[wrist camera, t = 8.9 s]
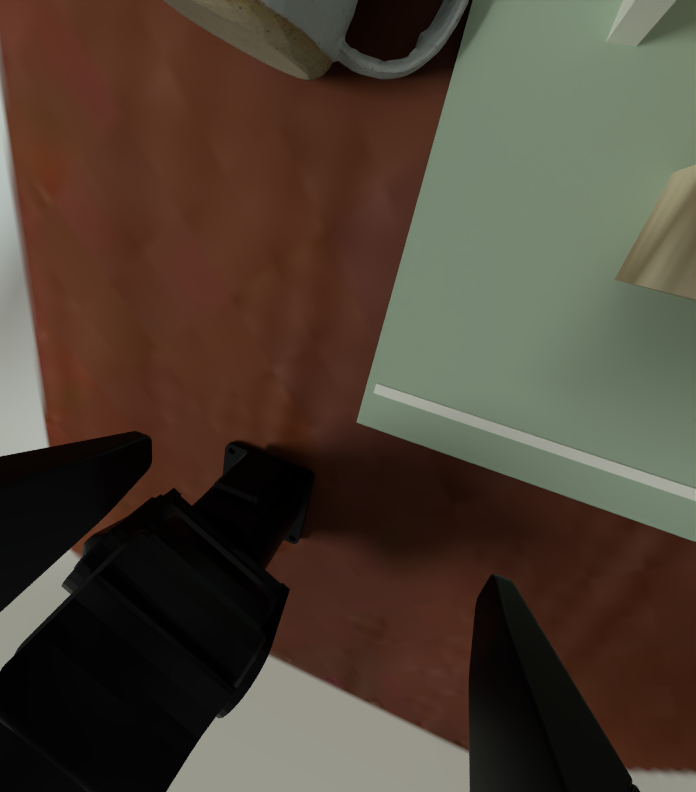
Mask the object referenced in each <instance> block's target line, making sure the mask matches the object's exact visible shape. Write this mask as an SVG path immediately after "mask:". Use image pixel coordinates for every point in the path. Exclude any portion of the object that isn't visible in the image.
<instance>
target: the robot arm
mask: <svg viewBox="0 0 696 792" xmlns="http://www.w3.org/2000/svg"><path fill="white" fill-rule="evenodd" d="M232 448H233V449H234V450H235V451H234V450H233V449H232ZM151 463H152V440H151V438H150V437H149V436H148V435H146V434H143V433H140V432H137V431H132V432H127V433H122V434H117V435H111V436H106V437H101V438H96V439H90V440H85V441H80V442H74V443H69V444H64V445H59V446H53V447H48V448H43V449H38V450H32V451H27V452H22V453H17V454H11V455H7V456H1V457H0V612H1V611H2V610H3V609H4V608H5V607H6V606H8V605H9V604H10V603H11V602H12V601H13V600H14V599H15V598H16V597H17V596H19V595H20V594H21V593H22V592H23V591H24V590H25V589H26V588H27V587H28V586H30V585H31V584H32V583H33V582H34V581H35V580H36V579H37V578H38V577H39V576H41V575H42V574H43V573H44V572H45V571H46V570H47V569H48V568H49V567H50V566H51V565H53V564H54V563H55V562H56V561H57V560H58V559H59V558H60V557H61V556H62V555H63V554H65V553H66V552H67V551H68V550H69V549H70V548H71V547H72V546H73V545H75V544H76V543H77V542H78V541H79V540H80V539H81V538H82V537H83V536H84V535H85V534H87V533H88V532H89V531H90V530H91V529H92V528H93V527H94V526H95V525H96V524H98V523H99V522H100V521H101V520H102V519H103V518H104V517H105V516H106V515H107V514H108V513H109V512H110V511H111V510H112V509H113V508H114V507H115V506H116V504H117V503H118V502H119V501H120V500H121V499H122V498H123V497H124V496H125V495H126V494H127V492H128V491H129V490H130V489H131V488H132V487H133V486H134V485H135V484H136V483H137V482H138V480H139V479H140V478H141V477H142V476H143V475H144V474H145V473H146V472H147V470H148V469H149V468H150V466H151ZM304 476H306V477H308V479H306V478H305V477H304ZM313 483H314V474H313V473H312V472H311V471H309V470H307V469H304V468H302V467H299V466H297V465H294V464H291V463H289V462H286V461H284V460H281V459H278V458H276V457H273V456H270V455H268V454H265V453H263V452H260V451H257V450H255V449H252V448H250V447H247V446H244V445H242V444H239V443H237V442H230V443H229V444H228V445H227V446H226V448H225V457H224V468H223V475H222V476H221V477H220V478H219V479H218V480H217V481H216V482H215V484H214V485H213V486H212V487H211V488H210V489H209V490H208V491H207V492H206V493H205V494H204V495H203V496H202V497H201V498H200V499H199V500H198V501H197V502H196V503H195V504H194V505H192V506H191V505H190V504H189V503H188V502H187V501H186V500H185V499H183V498H182V497H181V494H180V493H179V492H178V491H177V490H176V489H175V488H173V489H172V490H171V491H169V492H168V493H166V494H165V495H164V496H163V495H162V494H161V495H159V496H158V497H156V498H153V497H151V498H150V499H149V500H148V501H146V502H145V503H144V504H143V505H142V506H140V507H139V508H138V509H137V510H135V511H134V512H133V513H131V514H130V515H129V516H127V517H125V518H124V519H122V520H120V521H118V522H116V523H114V524H112V525H110V526H108V527H107V528H105V529H103V530H101V531H99V532H97V533H95V534H94V535H92V536H91V537H90V538H89V539H88V540H87V541H86V542H85V543H84V544H83V551H82V558H81V559H80V561H79V562H78V563H77V564H76V566H75V567H74V570H73V571H72V572H71V574H70V575H69V576H68V577H67V578H66V580H65V581H64V582H63V584H62V587H63V588H64V589H65V590H67V591H68V592H69V593H70V594H71V595H70V596H69V597H68V598H67V599H66V600H65V601H64V602H63V603H62V604H61V605H60V606H59V607H58V608H57V609H56V610H55V611H54V612H53V613H52V614H51V615H50V616H49V617H48V618H47V619H46V620H45V621H44V622H43V623H42V624H41V625H40V626H39V627H38V628H37V629H36V630H35V631H34V632H33V633H32V634H31V635H30V636H29V637H28V638H27V639H26V640H25V641H24V642H23V643H22V644H21V645H20V647H19V648H18V649H17V651H16V653H15V655H14V656H13V657H12V658H11V659H10V660H9V661H8V662H7V663H6V664H5V665H4V666H3V668H2V669H1V671H0V792H166V791H167V789H168V788H169V786H170V784H171V783H172V781H173V780H174V778H175V777H176V775H177V773H178V772H179V770H180V769H181V767H182V766H183V764H184V762H185V761H186V759H187V757H188V756H189V754H190V753H191V751H192V750H193V748H194V747H195V745H196V744H197V742H198V741H199V739H200V738H201V736H202V735H203V733H204V732H205V731H206V729H207V728H208V727H209V725H210V724H211V723H212V721H213V720H214V719H215V717H218V718H223V717H224V716H226V715H227V714H228V713H229V712H230V711H231V710H232V709H233V708H234V707H235V706H236V705H237V704H238V703H239V702H240V700H241V699H242V698H243V697H244V695H245V694H246V693H247V691H248V690H249V688H250V687H251V685H252V684H253V682H254V681H255V679H256V678H257V676H258V674H259V672H260V671H261V669H262V667H263V665H264V663H265V661H266V659H267V657H268V655H269V652H270V649H271V647H272V644H273V641H274V637H275V634H276V631H277V628H278V625H279V622H280V619H281V616H282V612H283V609H284V606H285V603H286V600H287V597H288V594H289V591H290V589H289V588H288V587H287V586H285V585H284V584H283V583H279V582H278V581H277V580H276V579H275V578H274V577H273V576H271V575H270V574H269V573H268V572H267V571H266V570H265V569H266V568H267V566H268V564H269V563H270V561H271V559H272V558H273V556H274V554H275V553H276V551H277V550H278V548H279V546H280V545H281V543H282V541H283V540H285V541H287V542H290V543H293V544H296V543H298V541H299V539H300V537H301V534H302V530H303V525H304V521H305V517H306V513H307V508H308V504H309V500H310V495H311V491H312V487H313ZM293 536H294V537H293ZM469 756H470V759H469V760H470V761H469V762H470V792H640V791H639V789H638V788H637V787H636V785H634V784H632V778H631V776H630V775H629V773H628V771H627V770H626V768H625V766H624V765H623V763H622V761H621V760H620V758H619V756H618V755H617V753H616V751H615V750H614V748H613V747H612V745H611V743H610V742H609V740H608V738H607V737H606V735H605V733H604V732H603V730H602V728H601V727H600V725H599V723H598V722H597V720H596V718H595V717H594V715H593V713H592V712H591V710H590V709H589V707H588V705H587V704H586V702H585V700H584V699H583V697H582V695H581V694H580V692H579V690H578V689H577V687H576V685H575V684H574V682H573V680H572V679H571V677H570V675H569V674H568V672H567V670H566V669H565V667H564V666H563V664H562V662H561V661H560V659H559V657H558V656H557V654H556V652H555V651H554V649H553V647H552V646H551V644H550V642H549V641H548V639H547V637H546V636H545V634H544V632H543V631H542V629H541V627H540V626H539V624H538V623H537V621H536V619H535V618H534V616H533V614H532V613H531V611H530V609H529V608H528V606H527V604H526V603H525V601H524V599H523V598H522V596H521V594H520V593H519V591H518V589H517V588H516V586H515V585H514V583H513V582H512V581H511V580H509V579H507V578H505V577H502V576H500V575H497V574H492V575H491V576H490V577H489V579H488V581H487V582H486V584H485V586H484V587H483V589H482V591H481V592H480V594H479V596H478V598H477V601H476V607H475V617H474V627H473V638H472V648H471V659H470V670H469Z"/></svg>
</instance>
